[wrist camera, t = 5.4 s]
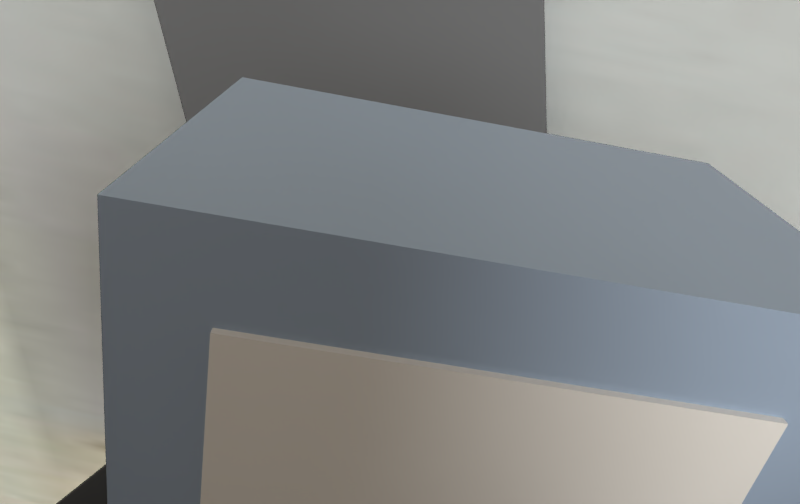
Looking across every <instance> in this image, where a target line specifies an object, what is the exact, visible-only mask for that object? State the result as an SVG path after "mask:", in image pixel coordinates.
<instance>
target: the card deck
mask: <svg viewBox="0 0 800 504" xmlns="http://www.w3.org/2000/svg"><path fill="white" fill-rule="evenodd" d="M97 197H98V228H99V259H100V290H101V321H102V352H103V383H104V414H105V445H106V476H107V504H800V231H798V230H797V229H796V228H794V227H793V226H792V225H790V224H789V223H788V222H786V221H785V220H784V219H782V218H781V217H780V216H778V215H777V214H776V213H774V212H773V211H772V210H770V209H769V208H767V207H766V206H765V205H763V204H762V203H761V202H759V201H758V200H757V199H755V198H754V197H753V196H751V195H750V194H749V193H747V192H746V191H745V190H743V189H742V188H741V187H739V186H738V185H737V184H735V183H734V182H733V181H731V180H730V179H729V178H727V177H726V176H725V175H723V174H722V173H720V172H719V171H718V170H716V169H715V168H714V167H712V166H711V165H710V164H708V163H703V162H698V161H692V160H687V159H682V158H676V157H671V156H665V155H660V154H655V153H649V152H644V151H638V150H633V149H628V148H622V147H617V146H611V145H606V144H601V143H595V142H590V141H584V140H579V139H574V138H568V137H563V136H557V135H552V134H547V133H541V132H536V131H530V130H525V129H520V128H514V127H509V126H503V125H498V124H493V123H487V122H482V121H476V120H471V119H466V118H460V117H455V116H449V115H444V114H439V113H433V112H428V111H422V110H417V109H412V108H406V107H401V106H395V105H390V104H385V103H379V102H374V101H368V100H363V99H358V98H352V97H347V96H342V95H336V94H331V93H325V92H320V91H315V90H309V89H304V88H298V87H293V86H288V85H282V84H277V83H271V82H266V81H261V80H255V79H250V78H244V77H242V78H241V79H239V80H238V81H237V82H236V83H234V84H233V85H232V86H231V87H230V88H228V89H227V90H226V91H225V92H223V93H222V94H221V95H220V96H218V97H217V98H216V99H215V100H214V101H212V102H211V103H210V104H209V105H207V106H206V107H205V108H204V109H202V110H201V111H200V112H199V113H197V114H196V115H195V116H194V117H193V118H191V119H190V120H189V121H188V122H186V123H185V124H184V125H183V126H181V127H180V128H179V129H178V130H176V131H175V132H174V133H173V134H172V135H170V136H169V137H168V138H167V139H165V140H164V141H163V142H162V143H160V144H159V145H158V146H157V147H156V148H154V149H153V150H152V151H151V152H149V153H148V154H147V155H146V156H144V157H143V158H142V159H141V160H139V161H138V162H137V163H136V164H135V165H133V166H132V167H131V168H130V169H128V170H127V171H126V172H125V173H123V174H122V175H121V176H120V177H119V178H117V179H116V180H115V181H114V182H112V183H111V184H110V185H109V186H107V187H106V188H105V189H104V190H102V191H101V192H100V193H99V194H98V195H97Z"/></svg>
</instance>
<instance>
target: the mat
mask: <svg viewBox="0 0 800 504" xmlns="http://www.w3.org/2000/svg"><path fill="white" fill-rule="evenodd" d="M154 2H155V6H156V9H157V13H158V17H159V21H160V24H161V28H162V32H163V36H164V39H165V43H166V47H167V51H168V54H169V58H170V62H171V66H172V69H173V73H174V77H175V81H176V84H177V88H178V92H179V96H180V99H181V103H182V107H183V111H184V114H185V118H186V122H188V121H189V120H190V119H191V118H193V117H194V116H195V115H196V114H197V113H199V112H200V111H201V110H202V109H204V108H205V107H206V106H207V105H209V104H210V103H211V102H212V101H214V100H215V99H216V98H217V97H218V96H220V95H221V94H222V93H223V92H225V91H226V90H227V89H228V88H230V87H231V86H232V85H233V84H234V83H236V82H237V81H238V80H239V79H241V78H242V77H244V78H250V79H255V80H261V81H266V82H271V83H277V84H282V85H288V86H293V87H298V88H304V89H309V90H315V91H320V92H325V93H331V94H336V95H342V96H347V97H352V98H358V99H363V100H368V101H374V102H379V103H385V104H390V105H395V106H401V107H406V108H412V109H417V110H422V111H428V112H433V113H439V114H444V115H449V116H455V117H460V118H466V119H471V120H476V121H482V122H487V123H493V124H498V125H503V126H509V127H514V128H520V129H525V130H530V131H536V132H541V133H547V128H546V74H545V21H544V0H154Z"/></svg>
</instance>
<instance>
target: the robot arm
mask: <svg viewBox="0 0 800 504" xmlns="http://www.w3.org/2000/svg"><path fill="white" fill-rule="evenodd" d="M56 504H107V476H106V465H104V466H103V467H102V468H101V469H99V470H98V471H97V472H96V473H94V474H93V475H92V476H90V477H89V478H88V479H87V480H85V481H84V482H83V483H82V484H80V485H79V486H78V487H77V488H75V489H74V490H73V491H72V492H70V493H69V494H68V495H67V496H65V497H64V498H63V499H62V500H60V501H59V502H58V503H56Z"/></svg>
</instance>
